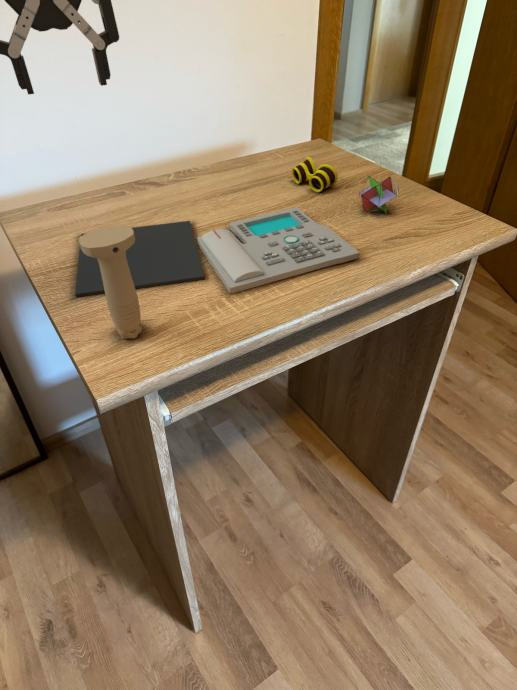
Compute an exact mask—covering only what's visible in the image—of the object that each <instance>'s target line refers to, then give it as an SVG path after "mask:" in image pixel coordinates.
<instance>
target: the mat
mask: <svg viewBox="0 0 517 690" xmlns="http://www.w3.org/2000/svg"><path fill="white" fill-rule="evenodd" d="M131 228H132V229H133V231H134V236H135V243H134V244H133V245H132V246H131V247H130V248H128V249H127V250H126V251H125V253H126V259H127V263H128V266H129V270H130V273H131V277H132V280H133V283H134V287H135V290H138V289H144V288H152V287H158V286H165V285H173V284H180V283H188V282H194V281H202V280H205V279H206V277H205V273H204V270H203V266H202V262H201V257H200V254H199V251H198V247H197V243H196V239H195V235H194V232H193V228H192V224H191V221H190V220H185V221H176V222H175V221H174V222H167V223H160V224H152V225H143V226H135V227H131ZM86 233H87V232H85V233H80V237H81V236H83V235H84V234H86ZM102 294H105V290H104V285H103V280H102V275H101V271H100V266H99V262H98V259H97V258H94V257H90V256H87V255H85V254H84V253H83V251H82V250H81V247H80V246H79V251H78V261H77V269H76V279H75V289H74V296H75V298H81V297H87V296H94V295H102Z"/></svg>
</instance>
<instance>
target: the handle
mask: <svg viewBox="0 0 517 690" xmlns="http://www.w3.org/2000/svg"><path fill="white" fill-rule="evenodd" d="M132 228H133V227H131V226H129V225H126V224H113V225H106V226H102V227H97V228H95V229H93V230H90V231H88V232H85V233H86V234H84V233H83V234H84V235H83V236H81V235H80V237H79V238H78V243H79V248H80V247H81V250H82V251H83V253H84V254H85V255H87V256H90V257H94V258H97V259H98V262H99V266H100V271H101V275H102V280H103V285H104V290H105V293H104V295H105V300H106V305H107V308H108V311H109V315H110V317H111V319H112V322H113V325H114V326H115V329H116V331H117V333H118V335H119V336H120V337H121V339H123V340H126V339H134V340H135V339H136V338H138V336H139V334H141V333H142V332H143V324H142V323H141V322H142V321H141V320H142V317H141V308H140V307H141V306H140V300H139V297H138V294H137V289H135V287H134V283H133V280H132V277H131V273H130V270H129V266H128V263H127V259H126V253H125V251H126V250H127V249H128V248H130V247H131V246H132V245H133V244H134V243H135V236H134V231H133V229H132Z"/></svg>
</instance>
